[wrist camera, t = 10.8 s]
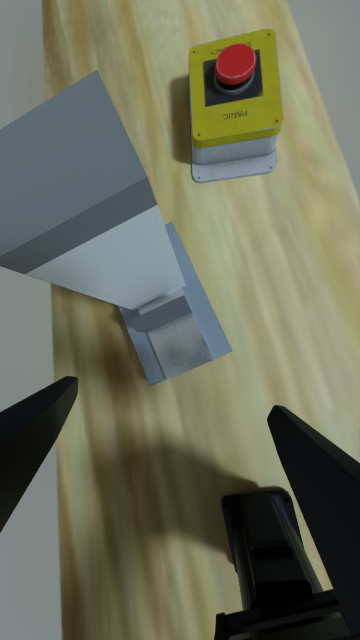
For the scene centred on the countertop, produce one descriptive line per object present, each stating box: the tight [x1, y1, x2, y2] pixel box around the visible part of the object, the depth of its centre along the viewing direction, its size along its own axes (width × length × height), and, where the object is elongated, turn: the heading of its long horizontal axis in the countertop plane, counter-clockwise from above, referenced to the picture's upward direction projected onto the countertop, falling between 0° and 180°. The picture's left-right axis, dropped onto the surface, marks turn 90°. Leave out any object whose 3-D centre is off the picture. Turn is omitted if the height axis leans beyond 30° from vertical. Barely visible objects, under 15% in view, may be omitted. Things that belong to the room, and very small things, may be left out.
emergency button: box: [188, 29, 283, 183], centre depth 19 cm, size 9×4×15 cm
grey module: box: [0, 70, 186, 310], centre depth 12 cm, size 5×6×12 cm
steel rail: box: [138, 288, 214, 379], centre depth 18 cm, size 15×5×1 cm, turn 24°
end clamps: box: [131, 295, 192, 332], centre depth 17 cm, size 10×5×3 cm, turn 24°
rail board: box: [118, 222, 232, 386], centre depth 19 cm, size 15×9×2 cm, turn 24°
